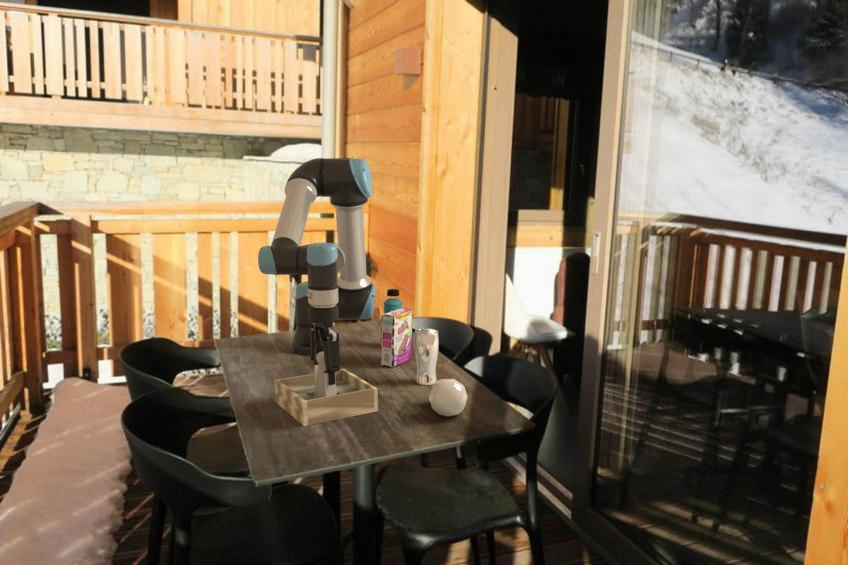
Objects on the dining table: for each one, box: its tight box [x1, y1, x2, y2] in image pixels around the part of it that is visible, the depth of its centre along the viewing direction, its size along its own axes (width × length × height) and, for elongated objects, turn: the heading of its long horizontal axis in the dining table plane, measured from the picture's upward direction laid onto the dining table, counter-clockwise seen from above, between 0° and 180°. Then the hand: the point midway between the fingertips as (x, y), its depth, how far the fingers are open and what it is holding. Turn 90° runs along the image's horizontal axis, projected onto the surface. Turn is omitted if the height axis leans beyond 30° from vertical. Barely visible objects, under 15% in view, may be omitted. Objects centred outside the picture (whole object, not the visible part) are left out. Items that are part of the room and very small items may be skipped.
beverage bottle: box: [383, 288, 403, 314], centre depth 239 cm, size 6×7×20 cm
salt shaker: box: [314, 352, 337, 398], centre depth 183 cm, size 6×6×13 cm
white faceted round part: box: [428, 378, 468, 417], centre depth 180 cm, size 9×10×15 cm
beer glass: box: [413, 327, 440, 386], centre depth 203 cm, size 7×7×15 cm
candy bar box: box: [380, 308, 413, 369], centre depth 221 cm, size 11×5×16 cm, turn 150°
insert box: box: [274, 368, 379, 427], centre depth 183 cm, size 20×20×6 cm
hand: (325, 392), depth 183 cm, fingers closed on salt shaker, 6 cm apart
